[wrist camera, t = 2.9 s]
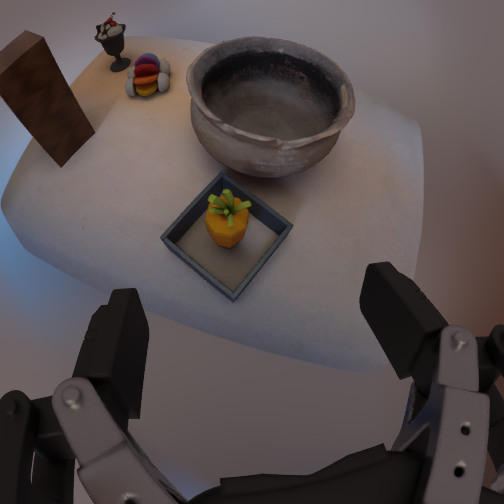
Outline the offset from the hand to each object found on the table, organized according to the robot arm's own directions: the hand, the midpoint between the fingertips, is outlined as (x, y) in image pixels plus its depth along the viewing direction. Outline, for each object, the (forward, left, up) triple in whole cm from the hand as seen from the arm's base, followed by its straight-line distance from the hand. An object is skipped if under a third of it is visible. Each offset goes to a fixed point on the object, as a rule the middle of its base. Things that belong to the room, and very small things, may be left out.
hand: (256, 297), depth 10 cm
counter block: (+4, +45, -30) cm, 54 cm away
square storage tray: (+8, +8, -30) cm, 32 cm away
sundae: (+24, +53, -31) cm, 65 cm away
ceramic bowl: (+25, +15, -31) cm, 42 cm away
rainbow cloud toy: (+23, +41, -31) cm, 56 cm away
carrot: (+8, +8, -31) cm, 32 cm away
